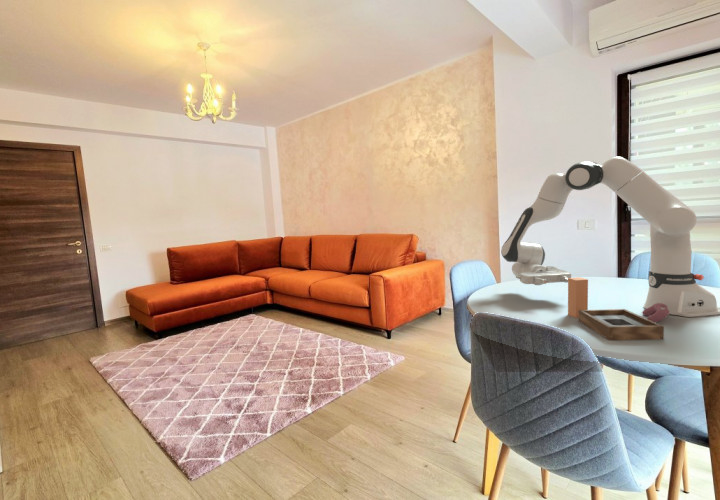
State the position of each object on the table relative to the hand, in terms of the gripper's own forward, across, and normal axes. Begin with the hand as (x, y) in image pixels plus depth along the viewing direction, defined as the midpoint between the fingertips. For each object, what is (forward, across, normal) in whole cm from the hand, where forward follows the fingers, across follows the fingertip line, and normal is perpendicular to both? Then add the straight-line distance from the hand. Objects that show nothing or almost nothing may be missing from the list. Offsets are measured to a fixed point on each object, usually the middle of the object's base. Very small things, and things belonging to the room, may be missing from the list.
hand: (556, 281), depth 138 cm
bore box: (+28, +3, +10) cm, 30 cm away
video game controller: (+22, +21, +10) cm, 33 cm away
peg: (+12, 0, +10) cm, 16 cm away
